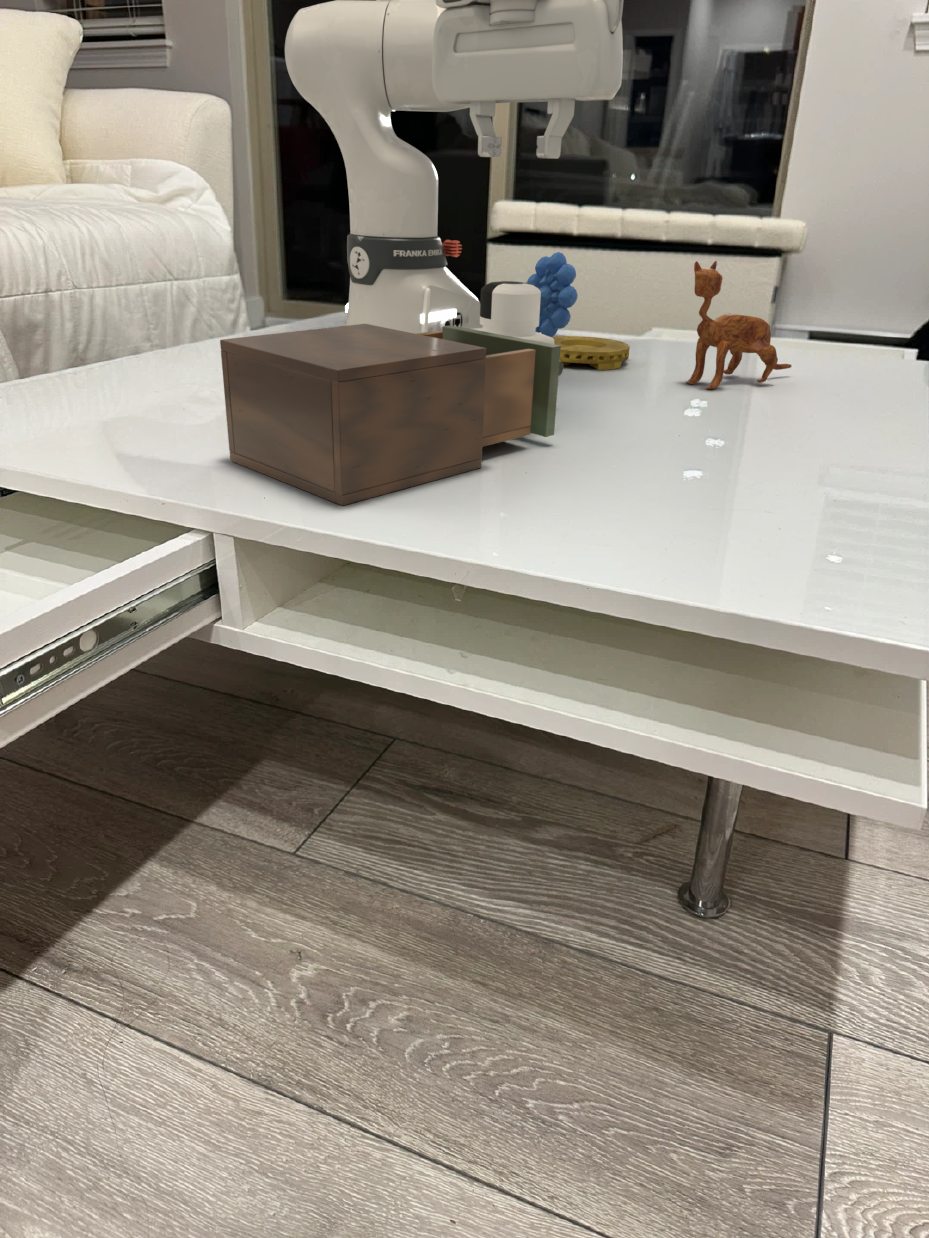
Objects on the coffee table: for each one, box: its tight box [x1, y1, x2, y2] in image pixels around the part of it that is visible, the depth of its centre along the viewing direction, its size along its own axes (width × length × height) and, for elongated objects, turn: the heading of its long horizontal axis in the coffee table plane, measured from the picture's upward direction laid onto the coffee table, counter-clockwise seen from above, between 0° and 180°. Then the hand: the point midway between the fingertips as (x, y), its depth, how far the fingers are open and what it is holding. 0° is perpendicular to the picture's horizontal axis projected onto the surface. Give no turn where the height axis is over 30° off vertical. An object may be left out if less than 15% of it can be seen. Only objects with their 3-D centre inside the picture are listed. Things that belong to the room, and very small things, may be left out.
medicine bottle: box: [473, 280, 554, 344], centre depth 93 cm, size 7×7×12 cm
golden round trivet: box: [552, 335, 631, 371], centre depth 118 cm, size 12×12×2 cm
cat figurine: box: [685, 260, 792, 390], centre depth 106 cm, size 18×7×14 cm, turn 121°
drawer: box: [417, 325, 564, 448], centre depth 80 cm, size 18×13×8 cm
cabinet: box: [219, 324, 486, 506], centre depth 72 cm, size 15×15×10 cm
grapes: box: [525, 251, 579, 337], centre depth 132 cm, size 12×7×12 cm, turn 30°
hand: (517, 158), depth 85 cm, fingers open, 6 cm apart
